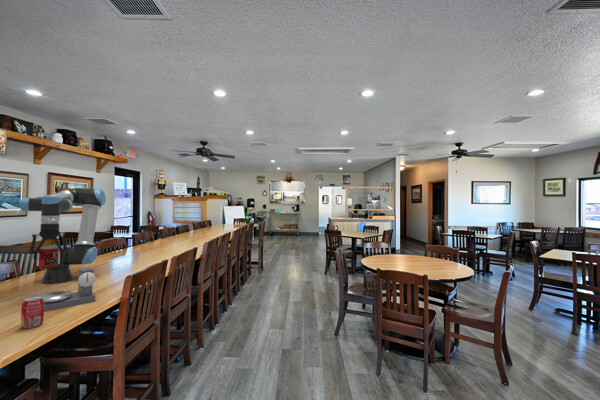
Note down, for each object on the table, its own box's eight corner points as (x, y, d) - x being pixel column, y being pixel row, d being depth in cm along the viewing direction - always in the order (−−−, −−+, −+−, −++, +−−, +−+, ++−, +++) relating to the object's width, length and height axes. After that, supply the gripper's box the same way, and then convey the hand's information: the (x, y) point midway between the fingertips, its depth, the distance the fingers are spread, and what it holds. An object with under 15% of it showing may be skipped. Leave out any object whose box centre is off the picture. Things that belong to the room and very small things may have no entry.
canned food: (45, 268, 141) (46, 248, 141) (34, 267, 143) (35, 247, 143) (61, 265, 149) (62, 246, 149) (50, 264, 150) (51, 245, 150)
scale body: (31, 305, 137) (33, 272, 137) (90, 294, 155) (92, 265, 155) (33, 313, 127) (34, 278, 127) (95, 301, 145) (97, 270, 145)
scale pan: (34, 298, 137) (34, 295, 137) (70, 292, 148) (70, 289, 148) (36, 306, 128) (36, 302, 128) (74, 299, 138) (74, 295, 138)
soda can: (31, 322, 119) (32, 295, 119) (47, 321, 120) (49, 295, 120) (15, 329, 112) (16, 301, 112) (33, 329, 113) (34, 301, 113)
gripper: (23, 224, 136) (21, 268, 136) (75, 223, 151) (73, 262, 151) (23, 223, 141) (21, 265, 141) (73, 222, 156) (71, 260, 156)
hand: (48, 264), depth 146 cm, fingers closed on canned food, 8 cm apart
